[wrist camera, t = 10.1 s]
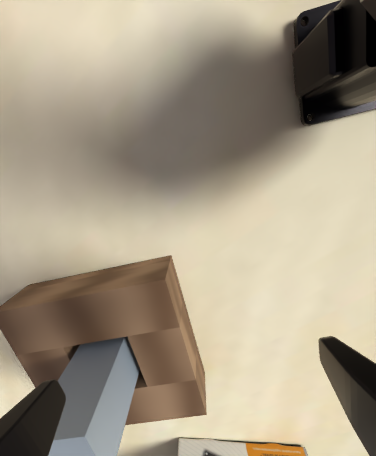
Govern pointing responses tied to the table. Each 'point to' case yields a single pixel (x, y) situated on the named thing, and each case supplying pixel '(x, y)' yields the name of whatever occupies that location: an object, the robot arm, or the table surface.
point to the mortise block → (114, 332)
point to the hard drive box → (234, 448)
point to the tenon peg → (96, 398)
